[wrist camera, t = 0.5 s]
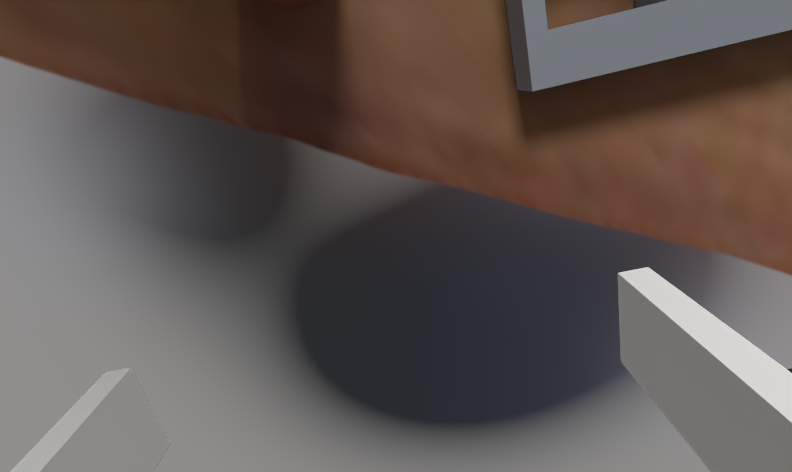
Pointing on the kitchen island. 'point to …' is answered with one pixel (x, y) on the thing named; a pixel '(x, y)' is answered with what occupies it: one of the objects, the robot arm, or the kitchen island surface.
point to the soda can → (288, 3)
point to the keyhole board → (632, 36)
